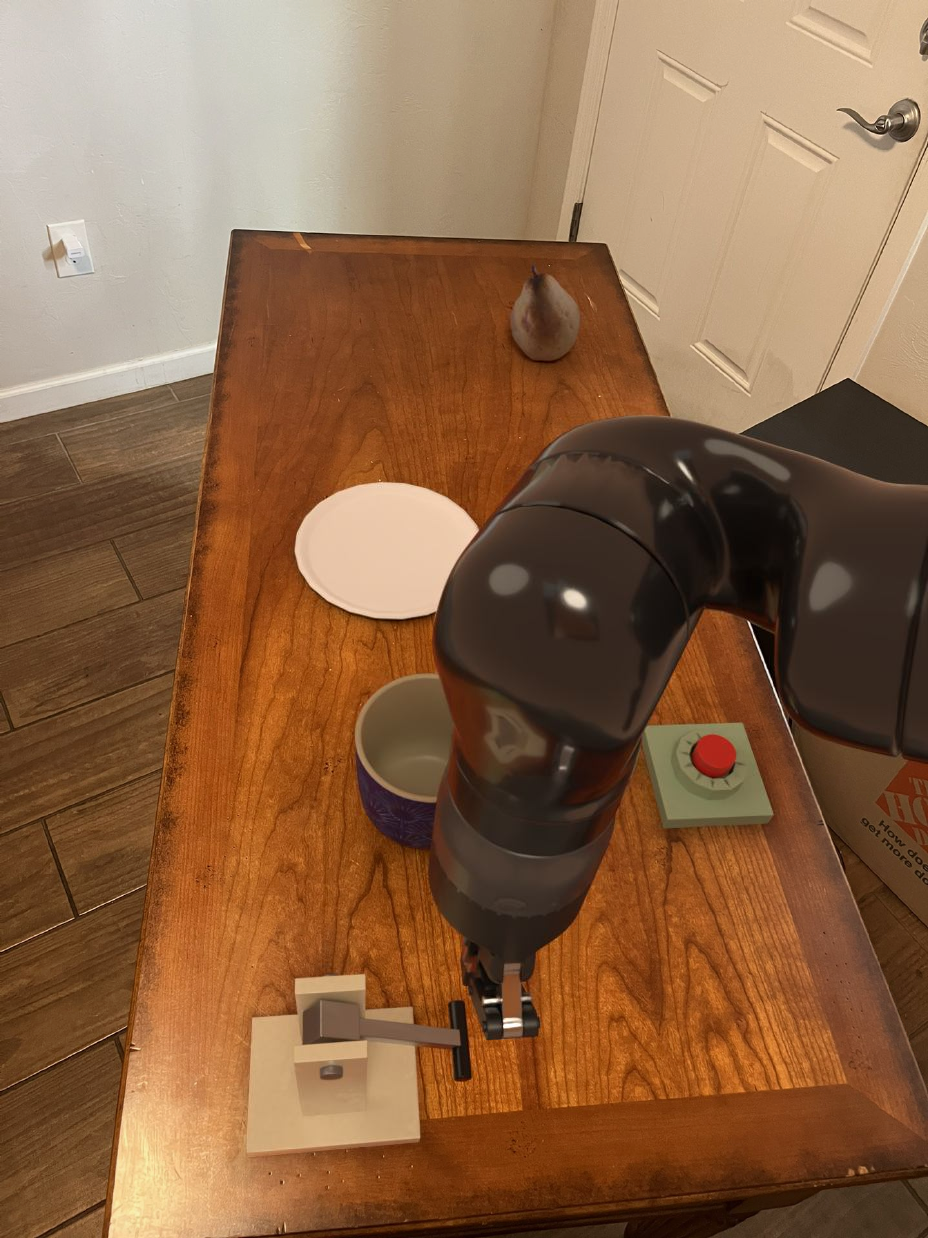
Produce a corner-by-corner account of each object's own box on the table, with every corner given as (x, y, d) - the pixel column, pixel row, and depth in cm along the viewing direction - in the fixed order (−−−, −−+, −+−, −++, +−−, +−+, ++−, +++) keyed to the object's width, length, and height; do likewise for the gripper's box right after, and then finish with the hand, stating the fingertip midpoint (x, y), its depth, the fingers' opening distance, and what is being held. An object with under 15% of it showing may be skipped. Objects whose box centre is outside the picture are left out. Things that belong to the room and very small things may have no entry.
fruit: (503, 328, 134) (514, 249, 125) (567, 329, 135) (583, 251, 126) (512, 371, 128) (524, 291, 119) (580, 372, 129) (597, 293, 120)
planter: (404, 891, 79) (410, 830, 71) (328, 782, 85) (325, 714, 77) (519, 818, 84) (538, 753, 76) (440, 720, 90) (449, 650, 82)
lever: (453, 1009, 67) (473, 998, 65) (459, 1085, 64) (480, 1075, 62) (302, 989, 61) (320, 976, 59) (301, 1072, 58) (320, 1061, 56)
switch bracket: (412, 1012, 73) (422, 939, 61) (419, 1142, 67) (433, 1088, 56) (253, 1023, 71) (235, 950, 60) (247, 1157, 65) (225, 1105, 54)
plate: (254, 559, 101) (253, 551, 100) (377, 464, 113) (377, 456, 112) (406, 658, 95) (406, 650, 94) (520, 545, 106) (521, 538, 105)
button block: (767, 824, 86) (781, 805, 84) (662, 828, 85) (672, 809, 82) (737, 731, 93) (748, 711, 90) (639, 735, 91) (647, 714, 89)
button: (735, 777, 85) (741, 767, 84) (697, 778, 85) (702, 768, 84) (724, 743, 88) (730, 733, 86) (687, 744, 87) (692, 734, 86)
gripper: (634, 977, 37) (561, 1092, 51) (576, 703, 46) (527, 863, 59) (446, 990, 36) (422, 1103, 50) (423, 708, 45) (407, 869, 58)
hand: (479, 972), depth 54 cm, fingers closed
